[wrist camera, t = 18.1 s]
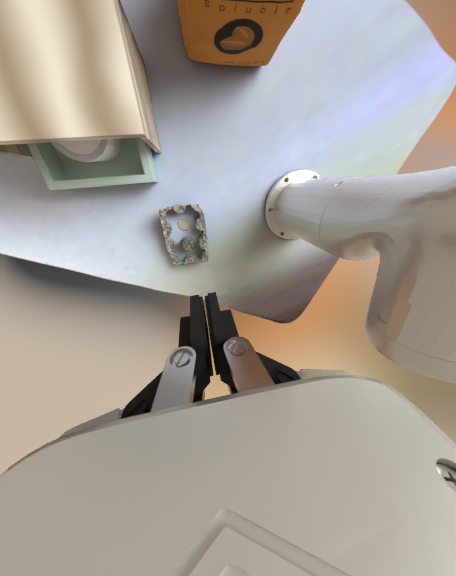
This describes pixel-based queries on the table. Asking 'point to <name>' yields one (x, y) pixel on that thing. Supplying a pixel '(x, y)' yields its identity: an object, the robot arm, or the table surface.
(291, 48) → the table surface
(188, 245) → the egg carton
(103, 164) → the tray
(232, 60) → the coffee package
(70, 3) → the beige wooden block
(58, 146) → the shot glass
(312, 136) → the table surface
